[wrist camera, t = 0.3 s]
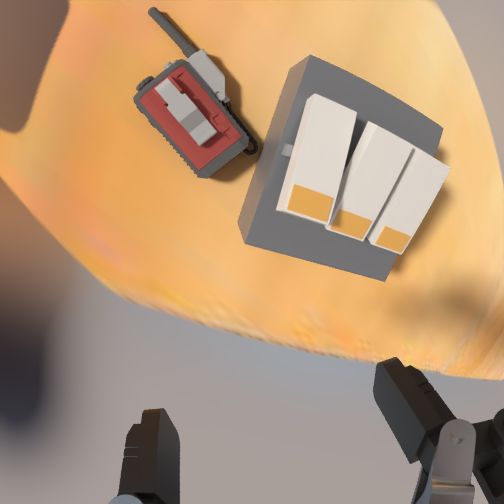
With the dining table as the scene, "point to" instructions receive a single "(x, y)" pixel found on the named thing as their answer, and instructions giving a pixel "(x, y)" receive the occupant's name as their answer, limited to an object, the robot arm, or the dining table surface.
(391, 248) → the rocker
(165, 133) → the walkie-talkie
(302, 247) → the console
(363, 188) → the rocker
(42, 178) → the dining table surface
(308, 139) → the white rectangular block
